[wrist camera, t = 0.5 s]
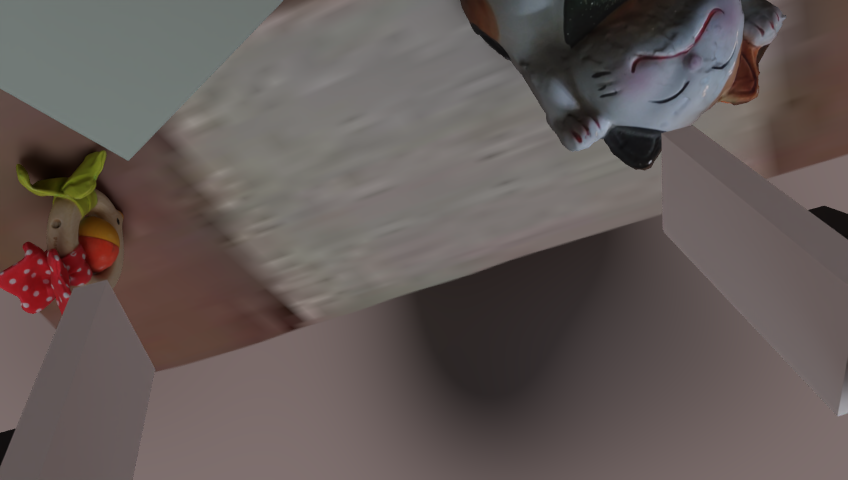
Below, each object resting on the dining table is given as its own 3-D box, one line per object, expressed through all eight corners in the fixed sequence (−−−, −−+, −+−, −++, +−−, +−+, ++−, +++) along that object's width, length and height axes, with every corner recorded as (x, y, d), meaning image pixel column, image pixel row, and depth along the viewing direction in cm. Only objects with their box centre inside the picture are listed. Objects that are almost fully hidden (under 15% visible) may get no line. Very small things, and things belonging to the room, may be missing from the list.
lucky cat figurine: (705, -227, 35) (899, -30, 31) (643, -50, 47) (779, 113, 42) (439, -108, 33) (606, 122, 29) (442, 47, 45) (562, 229, 40)
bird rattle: (158, 179, 51) (84, 118, 42) (173, 329, 47) (95, 296, 39) (75, 201, 51) (-15, 145, 43) (83, 352, 47) (-14, 324, 39)
